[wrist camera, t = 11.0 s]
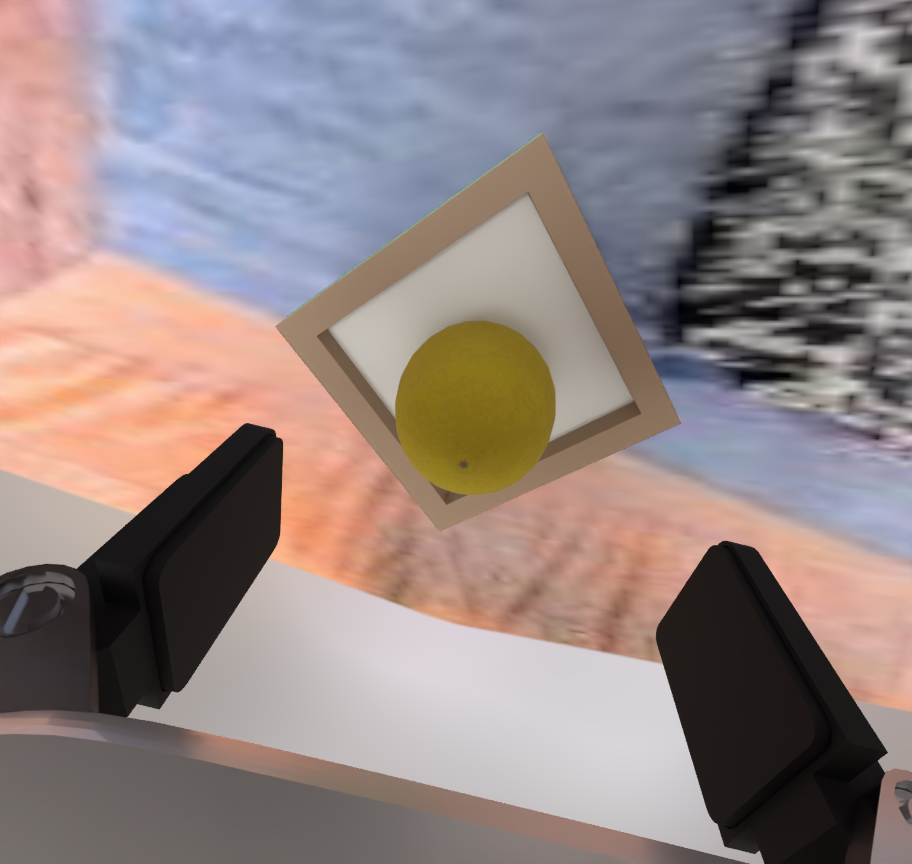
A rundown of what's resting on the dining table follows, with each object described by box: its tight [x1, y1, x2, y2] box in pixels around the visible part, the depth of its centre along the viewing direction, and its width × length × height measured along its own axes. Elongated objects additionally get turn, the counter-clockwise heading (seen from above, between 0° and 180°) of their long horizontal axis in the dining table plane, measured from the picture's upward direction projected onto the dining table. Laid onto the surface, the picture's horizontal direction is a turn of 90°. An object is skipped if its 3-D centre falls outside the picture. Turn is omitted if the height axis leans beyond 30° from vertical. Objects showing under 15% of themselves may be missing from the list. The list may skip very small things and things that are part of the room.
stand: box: [275, 132, 681, 531], centre depth 22 cm, size 12×12×8 cm
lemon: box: [395, 321, 556, 495], centre depth 16 cm, size 6×6×8 cm
